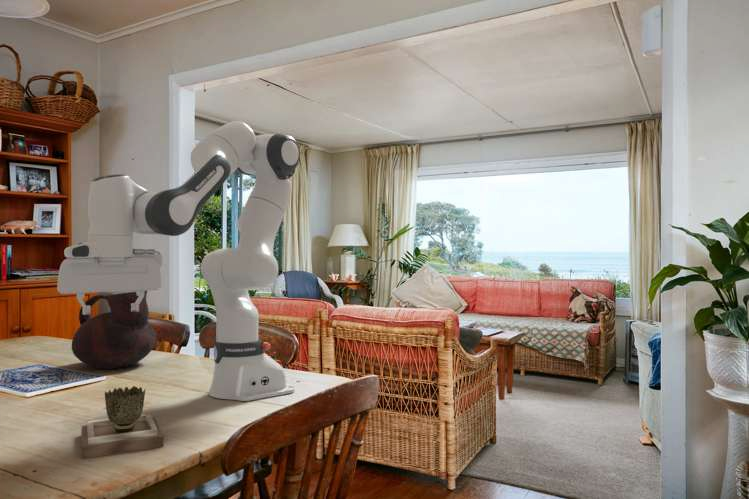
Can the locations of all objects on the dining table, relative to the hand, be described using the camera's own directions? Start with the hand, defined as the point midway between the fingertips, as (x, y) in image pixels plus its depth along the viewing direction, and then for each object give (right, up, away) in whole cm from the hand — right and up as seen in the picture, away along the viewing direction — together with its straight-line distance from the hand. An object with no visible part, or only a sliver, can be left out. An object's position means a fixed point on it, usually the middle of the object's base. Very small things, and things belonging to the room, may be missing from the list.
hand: (111, 313), depth 118 cm
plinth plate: (+6, -25, -9) cm, 27 cm away
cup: (+7, -23, -9) cm, 25 cm away
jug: (-29, -25, +62) cm, 72 cm away
